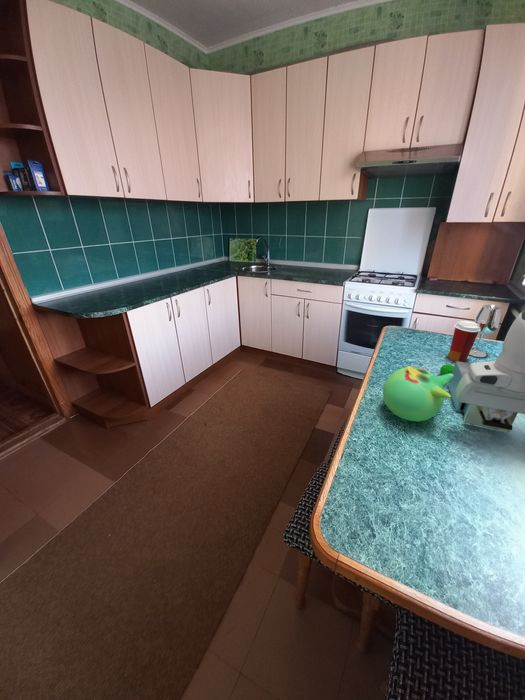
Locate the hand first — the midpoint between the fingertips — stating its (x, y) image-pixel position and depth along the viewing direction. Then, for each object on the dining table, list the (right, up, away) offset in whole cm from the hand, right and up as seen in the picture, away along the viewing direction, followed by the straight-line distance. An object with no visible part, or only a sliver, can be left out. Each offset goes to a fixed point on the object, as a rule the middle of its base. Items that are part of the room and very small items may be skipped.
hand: (494, 420), depth 75 cm
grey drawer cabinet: (+6, +2, +16) cm, 18 cm away
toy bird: (-16, -1, +12) cm, 20 cm away
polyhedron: (+6, +9, +29) cm, 31 cm away
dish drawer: (+3, -1, +8) cm, 9 cm away
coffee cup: (+17, +15, +40) cm, 46 cm away
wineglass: (+28, +17, +44) cm, 55 cm away
